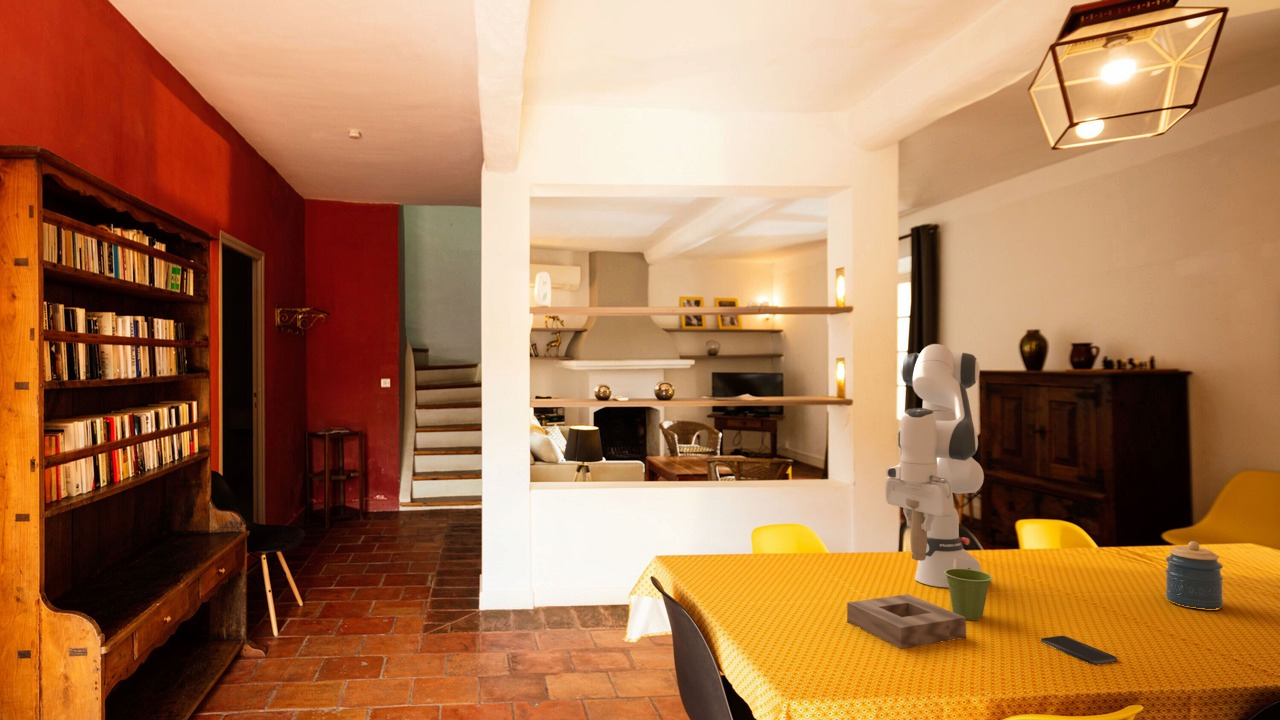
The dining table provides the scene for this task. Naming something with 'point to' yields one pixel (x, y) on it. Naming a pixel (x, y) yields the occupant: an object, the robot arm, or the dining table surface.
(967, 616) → the plant pot
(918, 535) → the handle
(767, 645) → the dining table surface
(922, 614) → the socket block
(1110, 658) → the phone
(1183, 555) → the canister
